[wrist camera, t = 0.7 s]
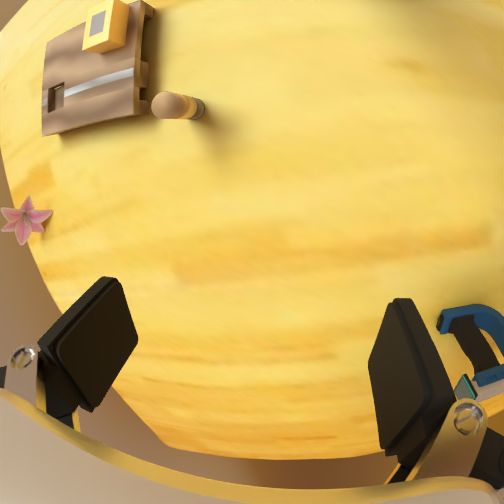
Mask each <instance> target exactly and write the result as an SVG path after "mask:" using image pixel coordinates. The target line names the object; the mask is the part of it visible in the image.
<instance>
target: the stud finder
mask: <svg viewBox="0 0 504 504" xmlns="http://www.w3.org/2000/svg"><path fill="white" fill-rule="evenodd" d="M129 8H130V6H129V5H127V4H125V3H123V2H122V1H120V0H108V1H106V2H103V3H101V4H99V5H97V6H94V7H92V8H90V9H88V14H87V20H86V26H85V32H84V40H83V48H82V50H83V51H88V52H93V53H97V54H102V53H104V52H107V51H110V50H113V49H116V48H119V47H122V46H125V41H126V31H127V23H128V15H129Z"/></svg>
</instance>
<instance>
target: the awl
mask: <svg viewBox="0 0 504 504" xmlns="http://www.w3.org/2000/svg"><path fill="white" fill-rule="evenodd" d="M151 109H152V112H153V114H154V115H155V116H156V117H157V118H160V119H192V120H194V119H198V118H200V117H201V116H202V115H203V113H204V110H205V106H204V103H203V102H202V101H201V100H200V99H197V98H193V97H189V96H185V95H181V94H176V93H172V92H167V91H165V92H161V93H159V94H157V95H156V96H155V97H154V99H153V101H152V104H151Z"/></svg>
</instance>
